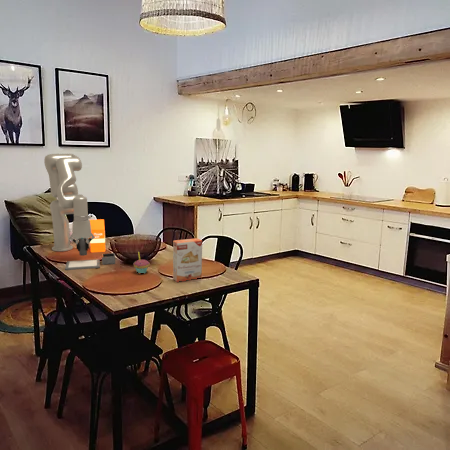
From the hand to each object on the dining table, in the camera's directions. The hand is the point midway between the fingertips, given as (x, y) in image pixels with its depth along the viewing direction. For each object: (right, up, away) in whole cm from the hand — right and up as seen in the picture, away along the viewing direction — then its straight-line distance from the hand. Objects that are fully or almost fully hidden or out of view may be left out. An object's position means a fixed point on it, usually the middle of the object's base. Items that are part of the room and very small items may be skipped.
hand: (82, 249), depth 248 cm
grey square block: (+14, -8, +4) cm, 16 cm away
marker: (0, -3, +1) cm, 3 cm away
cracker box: (+61, -14, -22) cm, 67 cm away
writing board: (+1, -9, -2) cm, 9 cm away
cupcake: (+36, -12, -12) cm, 40 cm away
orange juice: (0, -2, +29) cm, 29 cm away
